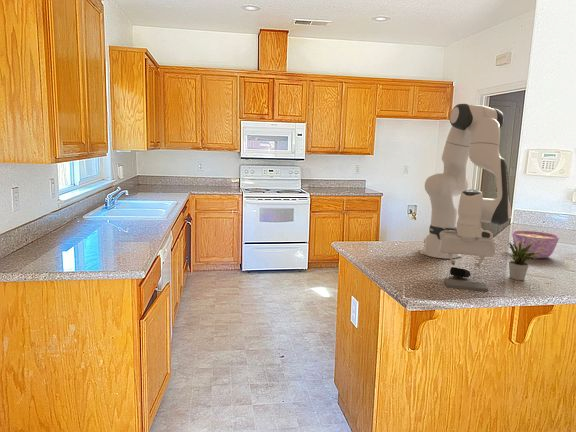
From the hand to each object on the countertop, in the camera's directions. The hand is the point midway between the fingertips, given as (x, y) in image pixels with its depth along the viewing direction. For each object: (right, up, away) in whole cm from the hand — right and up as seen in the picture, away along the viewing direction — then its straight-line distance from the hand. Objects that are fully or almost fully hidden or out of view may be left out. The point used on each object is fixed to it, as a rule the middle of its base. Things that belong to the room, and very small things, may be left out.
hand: (465, 265), depth 170 cm
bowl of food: (+49, -1, +38) cm, 62 cm away
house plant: (+20, -5, +1) cm, 21 cm away
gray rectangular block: (-5, -6, -12) cm, 14 cm away
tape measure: (-2, -5, -5) cm, 7 cm away
